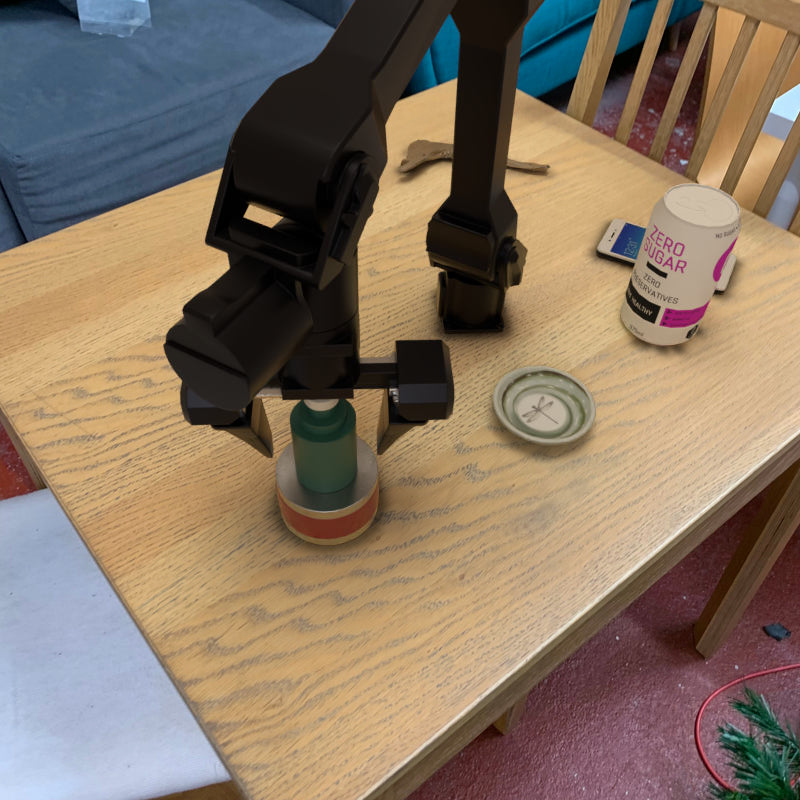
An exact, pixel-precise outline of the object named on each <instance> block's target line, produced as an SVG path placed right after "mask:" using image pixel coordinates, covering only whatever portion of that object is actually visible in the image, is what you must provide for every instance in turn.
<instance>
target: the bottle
mask: <svg viewBox="0 0 800 800" xmlns="http://www.w3.org/2000/svg"><path fill="white" fill-rule="evenodd" d="M289 428H290V435H291V442H292V444H293V452H294V460H295V468H296V474H297V477H298V479H299V481H300V482H301V483H302V484H303V485H304V486H305V487H307V488H308V489H310V490H313V491H315V492H320V493H331V492H335V491H339V490H341V489H343V488H345V487H346V486H347V485H349V484H350V483H351V482H352V480H353V479H354V477H355V475H356V473H357V436H358V435H357V431H358V430H357V428H358V427H357V413H356V410H355V407H354V406H353V405H352V403H351V402H350V401H349V400H348V399H323V400H298V402H297V403H296V404H295V405H294V407H293V408H292V409H291V412H290V414H289Z"/></svg>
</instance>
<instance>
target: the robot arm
mask: <svg viewBox="0 0 800 800" xmlns="http://www.w3.org/2000/svg"><path fill="white" fill-rule="evenodd" d="M545 1H546V0H354V1H353V2H352V4H351V5H350V7H348V10H347V11H346V13H345V14H344V16H343V18H342V19H341V21H340V22H339V24H338V25H337V27H336V29H335V31H334V32H333V33H332V35H331V36H330V38H329V40H328V41H327V43H326V45H325V46H324V47H323V49H322V50H321V51H320V53H319V54H318V55H317V56H316V57H315V58H314V60H313V61H310V62H308V63H306V64H304V65H303V66H300V67H297V68H296V69H293V70H292V71H290V72H287V73H285V74H283V75H281V76H279V77H277V78H276V79H274V81H273V82H272V83H271V84H270V85H269V87H267V89H265V91H264V92H263V94H261V96H260V97H258V99H257V100H256V101H255V103H253V105H252V106H250V108H249V109H248V111H246V113H245V114H244V115H243V116H242V117H241V119H240V120H239V123H238V125H237V126H236V127H235V130H234V131H233V133H232V136H231V138H230V142H229V145H228V149H227V153H226V156H225V157H226V158H225V160H224V164H223V168H222V172H221V175H220V180H219V183H218V187H217V191H216V195H215V197H214V198H215V199H214V202H213V206H212V209H211V214H210V217H209V222H208V225H207V229H206V233H205V236H204V237H205V238H204V243H205V245H206V246H207V247H210V248H213V249H216V250H218V251H221V252H223V253H226V254H227V260H228V265H229V268H228V270H226V271H225V272H224V273H223V274H222V275H221V276H219V278H217V279H216V280H215V281H214V282H213V283H211V285H209V286H208V287H206V288H205V289H202V290H201V291H199V292H198V293H196V294H195V295H194V296H193V297H191V298H190V300H188V301H187V302H186V303H185V304H184V305H183V307H182V310H181V313H182V315H183V316H182V317H181V318H180V319H179V320H177V322H176V323H174V324H173V325H172V326H171V327H169V329H168V330H167V332H166V334H165V341H164V343H163V344H162V346H163V351H164V354H165V357H166V359H167V361H168V363H169V365H170V366H171V369H172V370H173V371H174V373H175V374H176V375H177V376H178V378H179V379H180V380H181V384H180V389H179V403H180V404H179V405H180V409H181V411H182V415H183V418H184V421H186V422H187V423H188V424H189V425H191V426H209V427H210V428H211V429H212V430H213V431H215V432H216V431H219V432H221V431H223V432H226V433H227V434H229V435H231V436H233V437H235V438H237V439H238V440H240V441H242V442H244V443H246V444H247V445H249V446H251V447H252V448H253V449H254V450H256V451H257V452H259V453H260V454H261V455H263V456H264V457H266V458H267V459H273V458H274V439H273V433H272V429H271V425H270V422H269V419H268V415H267V411H266V409H265V405H264V402H263V399H281V400H282V401H300V400H323V399H346V400H354V399H355V390H383V392H382V398H381V404H380V408H379V409H380V410H379V415H378V421H377V427H376V456H383V455H384V454H385V453H386V452H387V451H388V450H389V449H390V448H391V447H392V446H393V445H394V444H395V443H396V442H397V441H398V440H399V439H400V438H402V437H403V436H404V435H406V434H407V433H408V432H410V431H411V430H413V429H414V428H416V427H424V426H426V425H428V423H429V422H430V421H446V420H447V419H448V418H450V417H451V416H452V415H453V414H454V407H455V395H456V394H455V381H454V374H453V366H452V358H451V351H450V347H449V345H447V343H446V342H445V341H444V340H443V339H395V340H394V345H393V346H394V347H393V348H394V349H393V352H392V353H391V354H390V355H389V356H377V357H375V356H374V357H373V356H372V357H371V356H370V357H361V352H360V350H361V327H360V325H361V324H360V323H361V322H360V301H359V300H360V298H359V297H360V296H359V295H360V293H359V291H360V290H359V242H360V239H361V237H362V235H363V232H364V230H365V227H366V225H367V222H368V220H369V219H370V218H371V217H372V215H373V214H374V210H375V209H374V205H375V202H376V200H377V197H378V195H379V192H380V179H381V178H382V176H383V173H384V172H385V169H386V167H387V164H388V160H389V155H388V154H389V153H388V141H387V140H388V139H387V127H386V125H387V123H388V120H389V119H390V116H391V114H392V113H393V111H394V108H395V107H396V105H397V103H398V101H399V100H400V98H401V97H402V95H403V93H404V91H405V89H406V88H407V87H408V84H409V83H410V81H411V80H412V78H413V76H414V75H415V73H416V71H417V69H418V68H419V66H420V64H421V63H422V61H423V60H424V57H425V55H427V53H428V50H429V49H430V48H431V46H432V44H433V42H434V41H435V39H436V37H437V36H438V34H439V33H440V30H441V29H442V27H443V26H444V24H445V22H446V20H447V19H448V17H449V16H450V17H451V20H452V22H453V24H454V25H455V28H456V30H457V31H458V33H459V34H458V35H459V41H458V42H459V43H458V46H459V47H458V60H457V62H458V63H457V78H456V93H455V110H454V123H453V124H454V125H453V127H454V128H453V143H452V144H453V157H452V159H451V176H450V188H449V189H450V191H449V194H448V197H447V198H445V200H444V201H443V202H442V204H441V205H440V206H439V207H438V208H437V210H435V212H434V213H433V214H432V216H431V218H430V220H429V221H428V222H427V231H426V235H425V246H426V248H425V252H427V256H428V262H429V266H430V267H432V268H437V269H441V271H439V272H438V273H437V283H436V294H435V295H436V297H435V305H436V312H437V316H438V317H439V318H441V323H442V324H441V325H442V331H443V332H444V333H446V334H469V333H470V334H474V333H475V334H477V333H479V334H480V333H484V334H485V333H503V332H504V331H505V327H506V325H505V321H504V320H505V319H504V315H503V312H504V307H505V301H506V295H507V291H508V290H509V289H510V288H511V287H516V286H520V284H521V283H522V281H523V274H524V267H525V266H526V263H527V259H526V258H527V255H528V252H529V249H528V248H527V247H526V246H525V244H524V243H522V242H521V241H520V240H519V238H517V236H518V234H517V233H518V220H519V219H518V218H519V214H518V210H516V208H515V206H514V204H513V202H512V201H511V198H510V196H509V195H508V192H507V191H506V189H505V181H506V176H507V175H506V174H507V168H508V166H507V159H509V150H510V141H511V134H512V127H513V119H514V110H515V101H516V96H517V88H518V87H517V86H518V79H519V72H520V64H521V56H522V47H523V40H524V31H525V27H526V26H527V25H528V24H529V22H530V20H531V19H532V18H533V17H534V16H535V14H536V13H537V12H538V10H539V9H540V8H541V6H542V5H543V4H544V2H545ZM250 206H252V207H254V208H257V209H260V210H262V211H266V212H268V213H272V214H274V215H276V216H279V217H282V218H281V219H280V220H278V221H277V222H276V223H275V224H274V225H273V226H272V227H271V226H268V225H265V224H263V223H260V222H257V221H256V220H253V219H249V218H247V217H245V215H246V212H248V209H249V207H250ZM442 270H443V271H442Z"/></svg>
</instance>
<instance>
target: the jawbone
mask: <svg viewBox="0 0 800 800" xmlns="http://www.w3.org/2000/svg"><path fill="white" fill-rule="evenodd" d="M452 157H453V143H447V142H439V141H430V140H427V139H417V140H414V141H412V142H411V143H409V145H408V147H407V157H406V158H403V159H402V160H401V162H400V166H398V168H397V170H396V171H397V172H396V173H402V172H403V173H407V172H408V171H409V170H412V169H414V168H416V167H418V166H420V164H422V163H425V162H430V161H435V160H437V159H451V160H452ZM507 167H510V168H516V169H525V170H527V171H533V172H534V173H535V172H547V171H548V170H549V169H550V168H551V166H550V164H540V163H536V162H524V161H517V160H513V159H510V158H508V159H507Z"/></svg>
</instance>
